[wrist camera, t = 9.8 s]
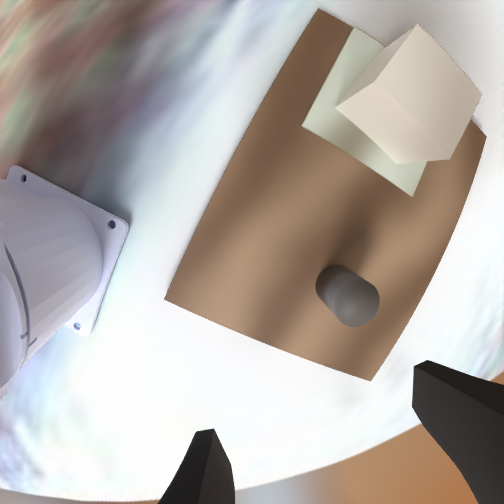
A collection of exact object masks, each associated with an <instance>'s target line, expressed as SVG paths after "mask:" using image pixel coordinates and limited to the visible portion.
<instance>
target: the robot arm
mask: <svg viewBox="0 0 504 504" xmlns="http://www.w3.org/2000/svg"><path fill="white" fill-rule="evenodd" d="M25 175H26V177H27V179H26V181H25V182H24V176H25ZM111 220H113V221H114V222H115V224H116V226H115V228H114V229H113V228H111V227H110V225H109V224H110V221H111ZM128 230H129V226H128V224H127V222H126V221H125V220H123V219H121V218H119V217H117V216H115V215H113V214H111V213H109V212H107V211H105V210H103V209H101V208H99V207H97V206H95V205H93V204H91V203H89V202H87V201H85V200H84V199H82V198H80V197H78V196H76V195H74V194H72V193H70V192H68V191H66V190H64V189H62V188H60V187H58V186H56V185H54V184H53V183H51V182H49V181H47V180H45V179H43V178H41V177H39V176H37V175H35V174H33V173H32V172H30V171H28V170H26V169H24V168H22V167H20V166H18V165H14V166H12V167H11V168H10V170H9V172H8V175H7V178H6V179H0V401H1V400H2V399H3V398H4V397H5V395H6V394H7V383H8V381H9V380H10V379H11V378H12V377H13V376H14V375H15V374H16V373H17V371H18V370H19V369H20V368H21V367H22V366H23V365H24V364H25V363H26V362H27V361H28V360H29V359H30V358H31V357H32V356H33V355H34V354H35V353H36V352H37V351H38V350H39V349H40V348H41V347H42V346H43V345H44V344H45V343H46V342H47V341H48V340H49V339H50V338H51V337H52V336H53V335H54V334H55V333H56V332H57V331H58V330H59V329H60V328H61V327H62V326H63V325H64V326H66V327H67V328H69V329H71V330H73V331H74V332H76V333H78V334H80V335H82V336H84V337H87V336H89V335H90V334H91V332H92V330H93V327H94V324H95V320H96V317H97V314H98V311H99V308H100V305H101V302H102V299H103V296H104V293H105V291H106V288H107V285H108V282H109V279H110V277H111V274H112V271H113V269H114V266H115V263H116V261H117V258H118V255H119V253H120V250H121V248H122V245H123V243H124V240H125V238H126V235H127V233H128ZM76 323H79V324H80V326H81V328H79V327H78V326H77V325H76ZM412 408H413V409H414V411H415V413H416V414H417V416H418V418H419V419H420V421H421V423H422V424H423V426H424V427H425V428H426V430H427V431H428V432H429V433H430V434H431V436H432V437H433V438H434V439H435V440H436V441H437V443H438V444H439V445H440V446H441V448H442V449H443V450H444V451H445V452H446V454H447V455H448V456H449V457H450V458H451V460H452V461H453V462H454V463H455V465H456V466H457V467H458V469H459V470H460V472H461V473H462V474H463V476H464V478H465V480H466V482H467V483H468V485H469V487H470V488H471V490H472V492H473V494H474V495H475V498H476V500H477V501H478V503H479V504H504V385H502V384H498V383H494V382H491V381H487V380H483V379H480V378H477V377H474V376H471V375H468V374H465V373H462V372H459V371H457V370H454V369H451V368H449V367H446V366H443V365H441V364H438V363H435V362H432V361H429V360H426V361H424V362H422V363H420V364H418V365H416V366H414V377H413V398H412ZM158 504H235V487H234V481H233V474H232V468H231V463H230V461H229V459H228V457H227V455H226V453H225V451H224V449H223V447H222V445H221V443H220V440H219V438H218V436H217V434H216V432H215V430H214V429H208V430H203V431H197V432H196V433H195V435H194V437H193V439H192V442H191V444H190V446H189V448H188V451H187V453H186V455H185V457H184V459H183V461H182V463H181V465H180V467H179V469H178V471H177V473H176V474H175V476H174V478H173V480H172V482H171V483H170V485H169V487H168V488H167V490H166V491H165V493H164V495H163V496H162V498H161V499H160V501H159V502H158Z"/></svg>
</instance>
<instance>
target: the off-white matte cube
mask: <svg viewBox="0 0 504 504" xmlns="http://www.w3.org/2000/svg"><path fill="white" fill-rule="evenodd" d="M481 96H482V93H481V92H480V91H479V89H478V88H477V87H476V86H475V84H474V83H473V82H472V81H471V80H470V78H469V77H468V76H467V75H466V74H465V72H464V71H463V70H462V69H461V68H460V67H459V65H458V64H457V63H456V62H455V61H454V60H453V59H452V58H451V57H450V55H449V54H448V53H447V52H446V51H445V50H444V49H443V48H442V47H441V46H440V45H439V44H438V43H437V42H436V41H435V40H434V39H433V38H432V37H431V36H430V35H429V34H428V33H427V32H426V31H425V30H424V29H423V28H422V27H421V26H420V25H419V24H417V25H415V26H414V27H412V28H411V29H410V30H408V31H407V32H406V33H404V34H403V35H402V36H400V37H399V38H398V39H396V40H395V41H394V42H392V43H391V44H390V45H388V46H387V47H386V48H384V49H383V50H382V51H381V52H379V53H378V54H377V55H376V56H375V57H374V58H373V59H372V61H371V62H370V63H369V64H368V66H367V67H366V68H365V70H364V71H363V72H362V73H361V75H360V76H359V77H358V78H357V80H356V81H355V82H354V84H353V85H352V86H351V87H350V89H349V90H348V91H347V93H346V94H345V95H344V97H343V98H342V99H341V100H340V102H339V103H338V104H337V106H336V107H335V108H336V109H337V110H338V111H340V112H341V113H342V114H343V115H344V116H346V117H347V118H348V119H349V120H350V121H351V122H353V123H354V124H355V125H356V126H357V127H358V128H359V129H361V130H362V131H363V132H364V133H365V134H366V135H367V136H368V137H369V138H371V139H372V140H373V141H374V142H375V143H376V144H377V145H378V146H379V147H380V148H381V149H382V150H383V151H384V152H386V153H387V154H388V155H389V156H390V157H391V158H392V159H393V160H394V161H395V162H396V163H397V164H404V163H414V162H425V161H437V160H449V159H450V158H451V156H452V154H453V152H454V150H455V148H456V147H457V145H458V143H459V141H460V139H461V137H462V135H463V133H464V131H465V129H466V127H467V125H468V123H469V121H470V119H471V117H472V115H473V113H474V111H475V109H476V107H477V105H478V102H479V100H480V98H481Z"/></svg>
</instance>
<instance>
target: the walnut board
mask: <svg viewBox="0 0 504 504" xmlns="http://www.w3.org/2000/svg"><path fill="white" fill-rule="evenodd" d="M384 48H386V47H385V46H383V45H382V44H380V43H379V42H377V41H376V40H374V39H373V38H371V37H370V36H368V35H367V34H365V33H364V32H362V31H360V30H359V29H357V28H355V27H354V28H352V27H351V26H349V25H347V24H345V23H344V22H342V21H340V20H339V19H337V18H335V17H333V16H331V15H330V14H328V13H326V12H324V11H322V10H320V9H318V10H317V11H316V13H315V14H314V16H313V18H312V19H311V21H310V22H309V24H308V25H307V27H306V29H305V30H304V32H303V33H302V35H301V37H300V38H299V40H298V42H297V43H296V45H295V47H294V48H293V50H292V52H291V53H290V55H289V57H288V58H287V60H286V62H285V63H284V65H283V67H282V68H281V70H280V72H279V73H278V75H277V77H276V79H275V80H274V82H273V84H272V86H271V87H270V89H269V91H268V93H267V94H266V96H265V98H264V100H263V101H262V103H261V105H260V107H259V109H258V110H257V112H256V114H255V116H254V118H253V119H252V121H251V123H250V125H249V127H248V129H247V130H246V132H245V134H244V136H243V138H242V140H241V142H240V143H239V145H238V147H237V149H236V151H235V153H234V155H233V157H232V159H231V161H230V162H229V164H228V166H227V168H226V170H225V172H224V174H223V176H222V178H221V180H220V182H219V184H218V186H217V188H216V190H215V192H214V194H213V196H212V198H211V200H210V202H209V204H208V206H207V208H206V210H205V212H204V214H203V216H202V218H201V220H200V222H199V224H198V226H197V229H196V231H195V233H194V235H193V237H192V239H191V241H190V243H189V245H188V248H187V250H186V252H185V254H184V256H183V258H182V260H181V263H180V265H179V267H178V269H177V271H176V274H175V276H174V278H173V280H172V282H171V285H170V287H169V289H168V291H167V294H166V296H165V298H164V300H166V301H169V302H171V303H173V304H175V305H177V306H179V307H181V308H184V309H186V310H188V311H190V312H192V313H195V314H197V315H199V316H201V317H204V318H206V319H208V320H210V321H213V322H215V323H217V324H220V325H222V326H224V327H227V328H229V329H231V330H234V331H236V332H238V333H241V334H243V335H246V336H248V337H251V338H253V339H255V340H258V341H260V342H263V343H265V344H268V345H270V346H273V347H276V348H278V349H281V350H283V351H286V352H289V353H291V354H294V355H296V356H299V357H302V358H304V359H307V360H310V361H313V362H315V363H318V364H321V365H324V366H327V367H329V368H332V369H335V370H338V371H341V372H344V373H347V374H350V375H353V376H356V377H359V378H362V379H365V380H368V381H371V380H372V379H373V377H374V376H375V374H376V373H377V372H378V370H379V369H380V367H381V366H382V364H383V362H384V361H385V359H386V358H387V356H388V355H389V353H390V352H391V350H392V348H393V347H394V345H395V344H396V342H397V340H398V339H399V337H400V335H401V334H402V332H403V330H404V329H405V327H406V325H407V324H408V322H409V320H410V318H411V317H412V315H413V313H414V311H415V309H416V308H417V306H418V304H419V302H420V300H421V298H422V297H423V295H424V293H425V291H426V289H427V287H428V285H429V283H430V281H431V279H432V277H433V275H434V273H435V271H436V269H437V267H438V265H439V263H440V261H441V259H442V256H443V254H444V252H445V250H446V248H447V245H448V243H449V241H450V239H451V236H452V234H453V232H454V229H455V227H456V224H457V222H458V220H459V217H460V215H461V212H462V210H463V207H464V204H465V202H466V199H467V196H468V194H469V191H470V188H471V185H472V182H473V179H474V176H475V173H476V170H477V167H478V164H479V161H480V158H481V154H482V151H483V148H484V144H485V141H486V137H487V136H486V135H485V134H484V133H483V132H482V131H481V130H480V129H479V128H478V127H477V126H476V125H475V124H474V123H473V122H472V121H471V120H470V121H469V123H468V125H467V127H466V129H465V131H464V133H463V135H462V137H461V139H460V141H459V143H458V145H457V147H456V148H455V150H454V152H453V154H452V156H451V158H450V159H449V160H437V161H425V162H414V163H404V164H397V163H396V162H395V161H394V160H393V159H392V158H391V157H390V156H389V155H388V154H387V153H386V152H384V151H383V150H382V149H381V148H380V147H379V146H378V145H377V144H376V143H375V142H374V141H373V140H372V139H371V138H369V137H368V136H367V135H366V134H365V133H364V132H363V131H362V130H361V129H359V128H358V127H357V126H356V125H355V124H354V123H353V122H351V121H350V120H349V119H348V118H347V117H346V116H344V115H343V114H342V113H341V112H340V111H338V110H337V109H336V108H335V107H336V106H337V104H338V103H339V102H340V100H341V99H342V98H343V97H344V95H345V94H346V93H347V91H348V90H349V89H350V87H351V86H352V85H353V84H354V82H355V81H356V80H357V78H358V77H359V76H360V75H361V73H362V72H363V71H364V70H365V68H366V67H367V66H368V64H369V63H370V62H371V61H372V59H373V58H374V57H375V56H376V55H377V54H378V53H379V52H381V51H382V50H383V49H384Z"/></svg>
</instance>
